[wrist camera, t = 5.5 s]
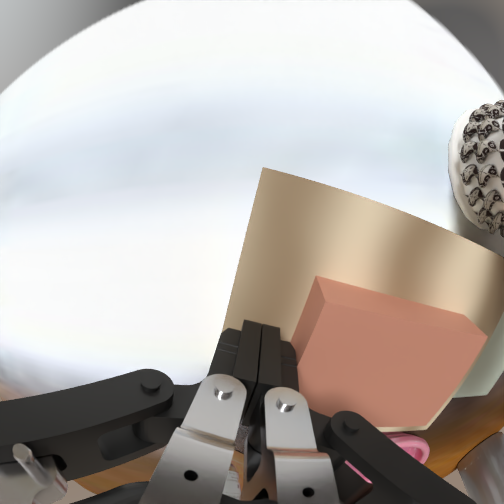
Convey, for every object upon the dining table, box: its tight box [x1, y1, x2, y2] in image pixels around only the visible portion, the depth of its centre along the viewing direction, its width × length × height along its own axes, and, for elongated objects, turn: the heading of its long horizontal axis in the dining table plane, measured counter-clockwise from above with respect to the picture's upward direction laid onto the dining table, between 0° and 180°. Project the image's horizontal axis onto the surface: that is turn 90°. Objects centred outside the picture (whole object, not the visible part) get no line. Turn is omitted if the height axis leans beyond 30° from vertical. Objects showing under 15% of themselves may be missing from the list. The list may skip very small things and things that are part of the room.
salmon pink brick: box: [290, 276, 488, 427], centre depth 11 cm, size 9×6×2 cm, turn 75°
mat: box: [453, 312, 504, 398], centre depth 15 cm, size 12×13×1 cm
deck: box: [222, 167, 504, 432], centre depth 14 cm, size 16×13×4 cm
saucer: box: [345, 431, 429, 483], centre depth 19 cm, size 12×12×3 cm
